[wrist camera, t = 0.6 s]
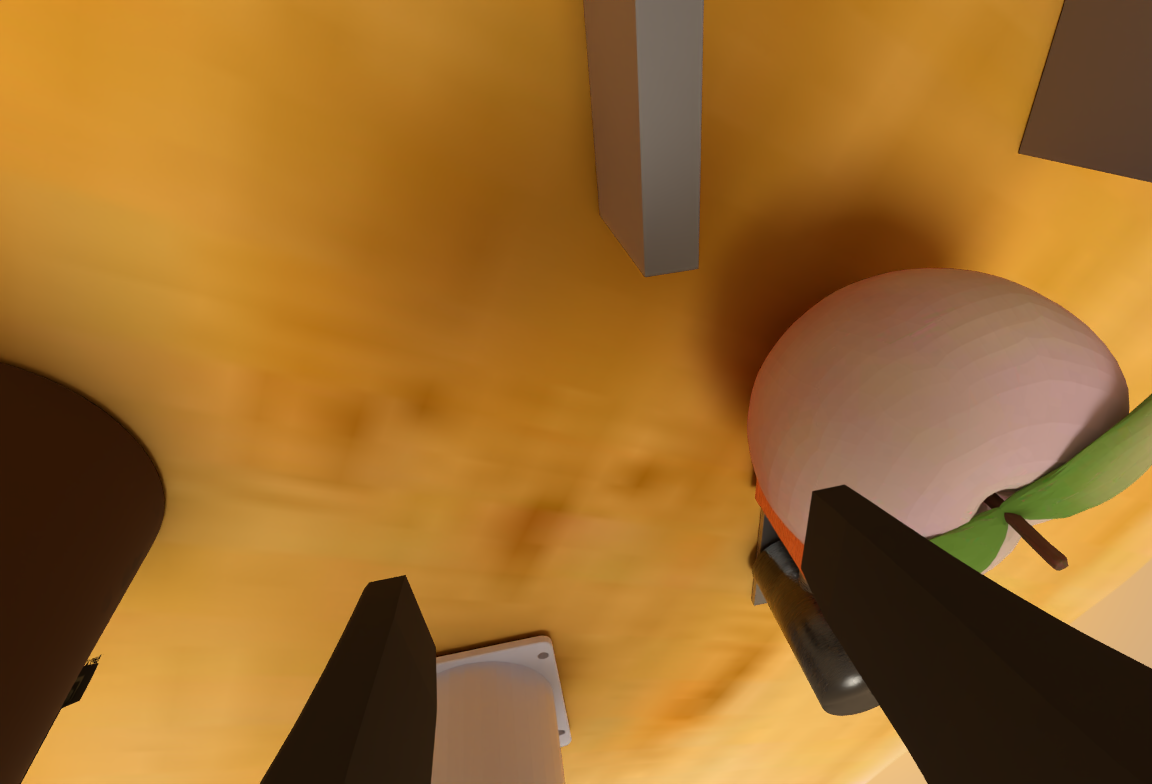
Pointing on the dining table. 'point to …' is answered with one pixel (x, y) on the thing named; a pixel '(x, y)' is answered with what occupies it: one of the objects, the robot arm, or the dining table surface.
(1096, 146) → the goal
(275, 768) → the robot arm
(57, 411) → the olive oil
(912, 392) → the decorative fruit
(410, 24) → the dining table surface
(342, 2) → the dining table surface
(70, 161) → the dining table surface
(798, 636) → the kicker rod
